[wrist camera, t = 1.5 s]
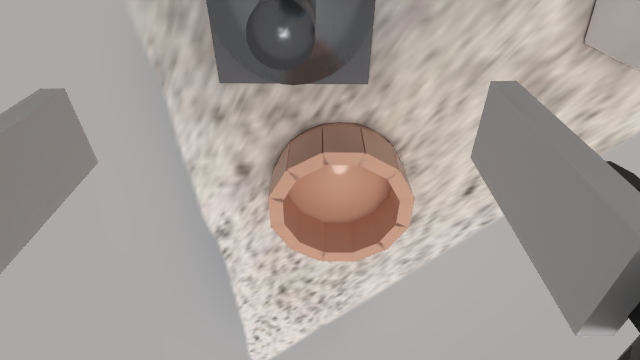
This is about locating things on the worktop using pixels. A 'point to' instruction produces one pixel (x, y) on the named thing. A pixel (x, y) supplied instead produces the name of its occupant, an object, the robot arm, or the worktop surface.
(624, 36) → the jar
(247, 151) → the worktop surface
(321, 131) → the bowl
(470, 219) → the worktop surface
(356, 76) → the mat
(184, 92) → the worktop surface
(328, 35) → the lid
